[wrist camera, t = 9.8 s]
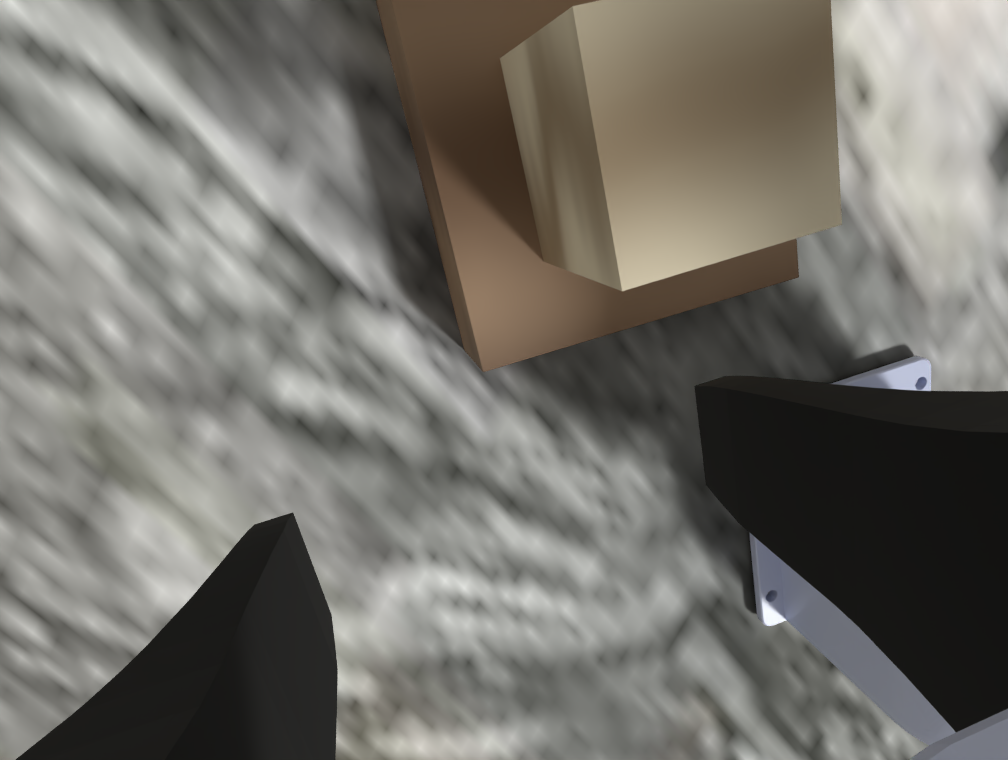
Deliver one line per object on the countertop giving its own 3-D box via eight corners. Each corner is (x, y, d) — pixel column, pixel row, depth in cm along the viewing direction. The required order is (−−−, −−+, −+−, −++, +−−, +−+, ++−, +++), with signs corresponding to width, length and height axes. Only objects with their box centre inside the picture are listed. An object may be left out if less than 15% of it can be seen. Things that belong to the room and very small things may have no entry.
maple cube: (710, 213, 18) (841, 224, 13) (543, 261, 17) (622, 291, 13) (686, 15, 16) (828, -51, 12) (499, 58, 15) (572, 6, 11)
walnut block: (739, 265, 22) (798, 277, 19) (461, 346, 20) (483, 372, 18) (707, -71, 19) (774, -115, 16) (371, -9, 17) (380, -46, 14)
